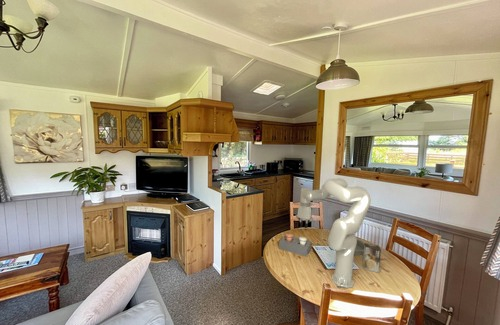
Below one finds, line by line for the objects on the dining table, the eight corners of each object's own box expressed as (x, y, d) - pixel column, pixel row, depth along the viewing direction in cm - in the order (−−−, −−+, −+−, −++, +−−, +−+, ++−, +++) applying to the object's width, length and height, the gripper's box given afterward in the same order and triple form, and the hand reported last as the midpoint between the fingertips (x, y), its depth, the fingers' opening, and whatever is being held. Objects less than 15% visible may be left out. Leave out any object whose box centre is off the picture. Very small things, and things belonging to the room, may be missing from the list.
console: (306, 256, 154) (307, 249, 154) (279, 248, 165) (279, 241, 164) (311, 248, 166) (311, 241, 166) (285, 241, 177) (285, 234, 176)
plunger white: (305, 248, 159) (305, 240, 158) (297, 246, 161) (298, 238, 161) (306, 245, 164) (307, 237, 163) (299, 243, 166) (300, 235, 166)
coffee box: (377, 267, 144) (379, 245, 142) (379, 272, 138) (381, 250, 136) (362, 264, 147) (364, 242, 146) (363, 269, 141) (365, 246, 140)
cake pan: (358, 242, 181) (359, 237, 180) (372, 257, 157) (372, 252, 156) (329, 239, 183) (329, 234, 183) (338, 255, 159) (338, 249, 158)
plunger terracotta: (291, 244, 164) (291, 236, 163) (284, 242, 167) (284, 234, 166) (293, 241, 169) (293, 234, 168) (286, 239, 172) (287, 232, 171)
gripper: (317, 204, 158) (315, 228, 160) (296, 201, 166) (294, 223, 168) (314, 207, 152) (313, 231, 154) (293, 203, 160) (291, 226, 162)
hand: (303, 227), depth 161 cm, fingers open, 2 cm apart
